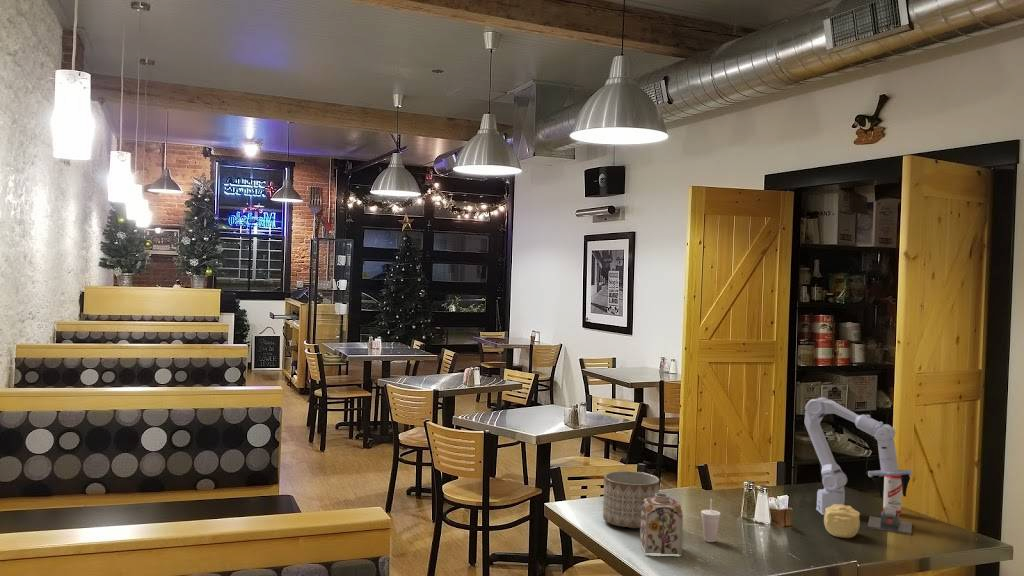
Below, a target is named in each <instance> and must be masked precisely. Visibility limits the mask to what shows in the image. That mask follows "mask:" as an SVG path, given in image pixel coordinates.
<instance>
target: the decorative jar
mask: <svg viewBox="0 0 1024 576" xmlns="http://www.w3.org/2000/svg"><path fill="white" fill-rule="evenodd" d="M683 515H684V514H683V509H682V506H681V503H680V501H679V500H677V499H674V498H671V497H670V495H669V494H667V493H664V492H659V493H656V494H655V497H649V498H646V499H644V500H643V502H642V504H641V526H640V528H639V535H640V536H639V542H640V541H641V543H642V546H643V548H644V550H645V553H661V554H679V555H683V518H684V516H683Z"/></svg>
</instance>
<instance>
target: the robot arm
mask: <svg viewBox="0 0 1024 576" xmlns="http://www.w3.org/2000/svg"><path fill="white" fill-rule="evenodd" d="M804 410H805V412H804V425H805V428H806V431H807V433H808V436H809V438H810V440H811V443H812V446H813V449H814V451H815V454H816V456H817V458H818V460H819V463H820V466H821V473H820V474H821V478H822V479H821V480H822V485H823V488H822V489H821V488H820V489H817V492H816V508H815V510H816V511H817V512H818V513H820V514H821V515H822V516H825V513H826V511H825V509H826V508H828V507H830V506H832V505H833V504H837V505H841V504H843V505H845V497H846V495H845V494H846V489H845V486H846V484H847V483H848V477H847V475H846V473H845V472H844V471H843V470H842V468H841V466H840V465H839V464H838V463H837V462H836V459H835V457H834V455H833V453H832V450H831V448H830V446H829V443H828V440H827V439H826V438H827V437H826V435H825V432H824V431H823V428H822V425H821V422H822V420H823V419H824V417H825V416H826V415H831V414H835V415H837V416H839V417H841V418H843V419H845V420H847V421H850V422H852V423H854V425H855V427H856V429H859V430H860V431H862V432H865V433H866V434H868V435H870V436H871V437H874V439H875V440H876V441H877V449H878V450H877V451H878V459H879V466H880V469H879V470H868V471H867V476H868V477H869V478H871V479H872V481H873V482H874V484H875V486H876V488H877V491H878V493H879V497H880V498H883V497H884V493H883V490H882V480H881V477H884V476H900V477H901V482H902V497H907V489H908V486H909V483H910V480H911V477H913V470H912V469H899V466H898V459H897V451H896V449H897V448H896V444H895V439H894V438H895V436H896V430H895V428H894V427H892V425H890V424H888V423H885V424H884V422H883V421H878V420H876V419H874V418H873V417H871V416H872V415H870V414H857V413H855V412H854V411H853V410H850V409H848V408H846V407H845V406H843V405H841V404H839V403H838V402H836V401H834V400H832V399H829V398H827V397H824V396H821V397H820V396H819V397H818V398H812V399H810V400H809V401H808V402H807V403H806V405H805V406H804ZM885 474H890V475H885Z"/></svg>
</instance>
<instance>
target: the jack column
mask: <svg viewBox="0 0 1024 576" xmlns="http://www.w3.org/2000/svg"><path fill="white" fill-rule="evenodd" d="M884 515H889V516H895V517H896V506H890V505H885V514H884Z"/></svg>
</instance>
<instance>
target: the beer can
mask: <svg viewBox="0 0 1024 576" xmlns="http://www.w3.org/2000/svg"><path fill="white" fill-rule="evenodd" d="M885 475H890V474H885ZM902 497H903V492H902V482H901V477H900V476H883V497H882V498H883V499H882V500H883V502H882V503H883V504H882V511H885V505H890V506H896V513H899V515H901V514H902V499H903V498H902Z"/></svg>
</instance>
